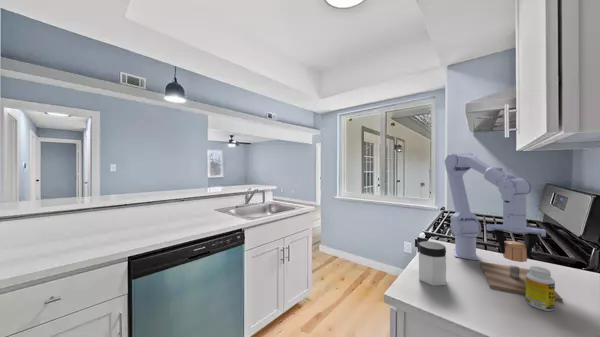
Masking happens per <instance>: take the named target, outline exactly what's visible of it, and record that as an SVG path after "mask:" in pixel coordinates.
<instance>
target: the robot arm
mask: <svg viewBox="0 0 600 337" xmlns="http://www.w3.org/2000/svg"><path fill="white" fill-rule="evenodd" d="M444 165H445V170H446V173H447V177H448V183H449V188H450V193H451V197H452V201H453V202H452V203H453V207H454V213H453V214H452V215H451V216H450V223H449V225H450V226H449V227H450V229H451V231H452V233H453V234H454V235H455V238H454V239H455V240H454V242H455V243H454V244H455V245H454V247H455V248H453V254H454V257H456V258H461V259H467V260H472V261H473V260H474V261H479V257H478V255H477V237H478V234H480V233H481V232H482V224H481V223H480V221H479V219H478V217H477V215H476V214H474V213H473V212H471V209H470V204H469V198H468V195H467V190H466V187H465V181H464V178H463V176H465V175H464V174H466V173H467V172H469V171H470V170H471V169H472V170H474V171H477V172H478V173H480V174H482V175H483V177H484V180H486V181H488V182H489V183H491V184H492V185H493V186H495V187H497V188H498V191H499V193H500V194H501V196H500V198H501V200H502V208H503V209H502V224H499V223H498V224H497V223H496V224H492V223H486V230H487V231H492V233H493V234H494V236H495V238H496V240H497V242H498V246H499V251H500V253H501V254H503V253H505V249H504V241H505V238H506V234H504V232H505V233H512V234H513V233H515V234H523V238H524V244H525V245H526V248H527V258H530V256H531V253H532V250H533V249H534V246H535V245H536V244H537V243H538V242H539V240H540V237H539V236H541V237H547V234H546V233H547V231H546V230H545V229H543V228H537V227H529V226H527V196H528V195H529V194H531V192H532V184H531V182H530V181H529V180H528V179H526V178H525V177H516V176H515V175H514V174H513V173H509V172H507V171H505V170H504V168H503V167H502V166H492V167H491V166H490V165H488V164H487V163H485V162H484V161H482V160H480V159H479V158H478V155H475V154H474V153H470V152H469V153H448V154H447V155H446V157H445V160H444Z"/></svg>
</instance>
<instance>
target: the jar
mask: <svg viewBox="0 0 600 337" xmlns="http://www.w3.org/2000/svg"><path fill="white" fill-rule="evenodd" d="M446 254H447V248H446V245H444V244H442V243H440V242H435V241H427V240H424V241H419V243H418V280H419V281H421V282H422V283H426V284H427V285H430V286H434V287H436V286H446V285H447V257H446Z"/></svg>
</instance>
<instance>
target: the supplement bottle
mask: <svg viewBox="0 0 600 337" xmlns="http://www.w3.org/2000/svg"><path fill="white" fill-rule="evenodd" d="M529 269H530V272H529V273H527V274H526V295H525V301H526V303H527V304H528V305H529V306H531V307H532V308H535V309H538V310H542V311H546V312H552V311H554V310H555V307H556V306H555V304H556V301H555V291H556V281H555V279H554V278H553V277H551V276H552V275H551V274H552V273H551V270H549V269H547V268H544V267H541V266H534V265H533V266H532V265H531V266H530V267H529Z"/></svg>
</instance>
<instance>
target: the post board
mask: <svg viewBox="0 0 600 337" xmlns="http://www.w3.org/2000/svg"><path fill="white" fill-rule="evenodd" d="M479 266H480V267H481V270H482V272H483V275H484V277H485V279H486V281H487V282H486V283H488V286H489V288H490V289H493V290H494V289H495V290H498V291H504V292H509V293H514V294H518V295H523V296H526V274H527V273H529V272H530V268H523V267H520V266H517V265H512V264H511V265H505V264H499V263H492V262H486V261H479ZM563 301H564V300H563V298H562V297H561V295H559V293H558V292H557V291H556V290H555V302H557V303H558V302H559V303H563Z"/></svg>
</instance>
